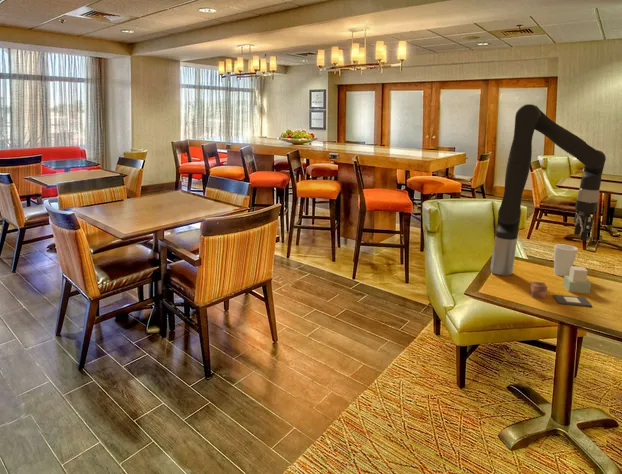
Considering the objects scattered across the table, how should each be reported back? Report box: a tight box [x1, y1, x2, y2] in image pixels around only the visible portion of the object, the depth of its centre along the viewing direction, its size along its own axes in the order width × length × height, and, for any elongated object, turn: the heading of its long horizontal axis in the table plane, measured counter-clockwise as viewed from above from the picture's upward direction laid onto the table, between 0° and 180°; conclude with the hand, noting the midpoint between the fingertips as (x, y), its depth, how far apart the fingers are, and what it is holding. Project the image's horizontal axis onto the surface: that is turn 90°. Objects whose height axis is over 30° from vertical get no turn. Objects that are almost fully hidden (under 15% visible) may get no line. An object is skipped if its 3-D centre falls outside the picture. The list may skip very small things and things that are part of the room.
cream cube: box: [569, 265, 589, 282], centre depth 195 cm, size 5×5×5 cm
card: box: [552, 294, 593, 308], centre depth 184 cm, size 12×8×1 cm, turn 78°
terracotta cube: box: [529, 281, 548, 300], centre depth 189 cm, size 5×5×5 cm
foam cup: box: [553, 243, 579, 277], centre depth 212 cm, size 10×9×13 cm
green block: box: [562, 276, 592, 294], centre depth 197 cm, size 8×8×4 cm
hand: (579, 237), depth 195 cm, fingers open, 8 cm apart
